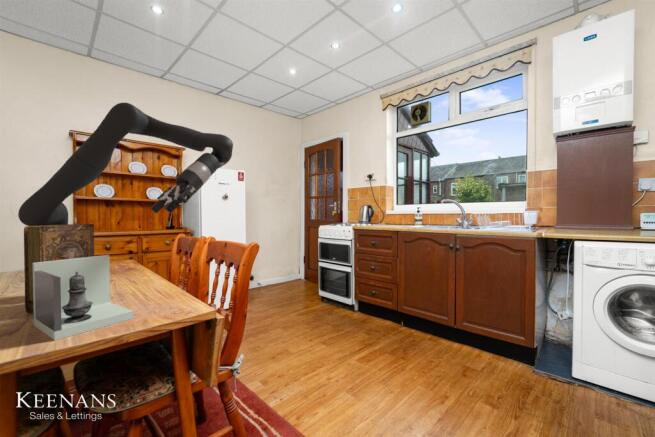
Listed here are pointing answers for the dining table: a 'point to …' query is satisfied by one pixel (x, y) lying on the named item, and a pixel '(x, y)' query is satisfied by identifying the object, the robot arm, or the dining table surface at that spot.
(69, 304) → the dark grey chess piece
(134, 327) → the dining table surface
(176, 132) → the robot arm
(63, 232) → the book
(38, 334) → the dining table surface
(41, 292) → the shelf
